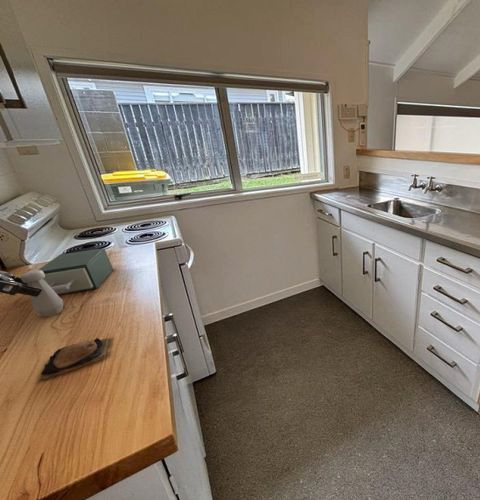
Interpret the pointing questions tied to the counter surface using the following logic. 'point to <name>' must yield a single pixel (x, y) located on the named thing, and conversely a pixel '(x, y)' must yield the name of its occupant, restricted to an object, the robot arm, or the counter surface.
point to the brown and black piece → (75, 357)
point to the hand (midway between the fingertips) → (36, 288)
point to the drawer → (68, 280)
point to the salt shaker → (43, 294)
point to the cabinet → (83, 265)
